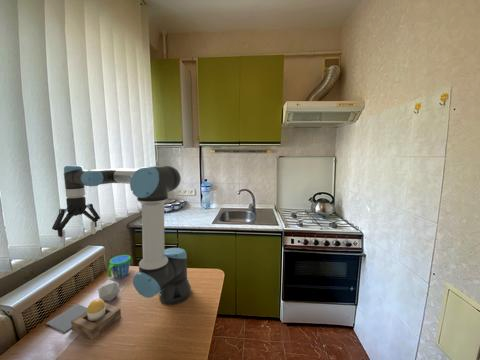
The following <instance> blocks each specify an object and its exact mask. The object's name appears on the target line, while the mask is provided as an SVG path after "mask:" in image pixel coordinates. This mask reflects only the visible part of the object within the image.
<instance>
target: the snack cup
mask: <svg viewBox="0 0 480 360" xmlns="http://www.w3.org/2000/svg"><path fill="white" fill-rule="evenodd" d="M108 263H109V266H108V267H107V277H108V278H112V276H113V278H115V279H116V280H117V279H124V278H126V277H127V276H128V275H129V271H130V265H132V264H133V257H132V256H131V255H128V254H121V255H116V256H114V257H112V258H111V259H110V260H109V261H108ZM111 272H112V273H111Z"/></svg>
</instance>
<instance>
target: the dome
mask: <svg viewBox="0 0 480 360" xmlns="http://www.w3.org/2000/svg"><path fill="white" fill-rule="evenodd" d="M105 303H106V302H105V300H103V299H100V298H95V299H93V300H92V301H91V302H90V303H89V304H88V306H87V314H88V321H90V322H92V323H95V322H96V321H98V320H99V319H101V318H102V317H103V316H105V315H106V312H105Z"/></svg>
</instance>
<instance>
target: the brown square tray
mask: <svg viewBox="0 0 480 360" xmlns="http://www.w3.org/2000/svg"><path fill="white" fill-rule="evenodd" d="M121 311H122V310H121V308H120V307H117V306H115V305H112V304H109V303H106V302H105V312H106V315H105V316H103V317H102V318H101V319H99V320H98V321H96V322H95V323H92V322H90V321H88V314H87V311H86V312H84V313H83V314H81V315H80V316H78V317H76V318H75V319H73V320H72V321H71V325H72V329H71V331H73V332H75V333H77V334H79V335H82V336H83V337H85V338H87V339H90V340H92V341H93V340H94V339H96V338H97V337H99V336H100V334H102V333H103V332H105V331H106V330H108V328H110V326H112V325H113V324H114V323H115V322H117V321H118V320H119V319H121V318H122V313H121Z"/></svg>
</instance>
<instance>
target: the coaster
mask: <svg viewBox="0 0 480 360" xmlns="http://www.w3.org/2000/svg"><path fill="white" fill-rule="evenodd" d="M87 308H88V306H87V307H86V306H85V305H81V304H79V303H77V304H75V305H74V306H72V307H69V309H67V310H65V311H64V312H62V313H60V314H59V315H57V316H55V317H54V318H51V319H50V320H48V321H47V322H45V325H46V324H47V326H48V325H49V327H50V326H51V327H50V328H53V329H55V330H57V331H58V332H61V333H63V334H66V333H67V332H69V331H70V330H72V325H71V321H72V320H73V319H75V318H76V317H78V316H80V315H81V314H83V313H84V312H86V311H87Z"/></svg>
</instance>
